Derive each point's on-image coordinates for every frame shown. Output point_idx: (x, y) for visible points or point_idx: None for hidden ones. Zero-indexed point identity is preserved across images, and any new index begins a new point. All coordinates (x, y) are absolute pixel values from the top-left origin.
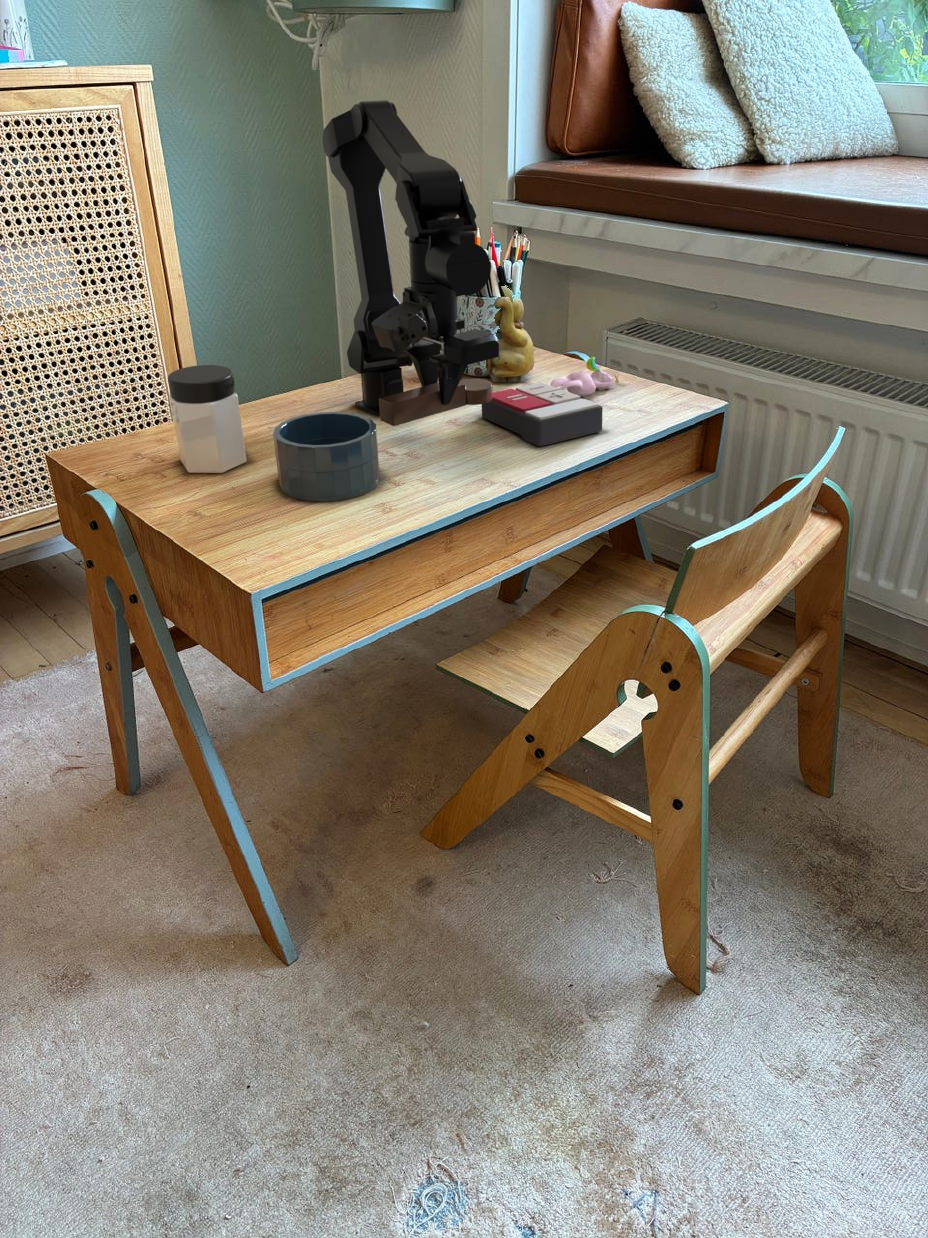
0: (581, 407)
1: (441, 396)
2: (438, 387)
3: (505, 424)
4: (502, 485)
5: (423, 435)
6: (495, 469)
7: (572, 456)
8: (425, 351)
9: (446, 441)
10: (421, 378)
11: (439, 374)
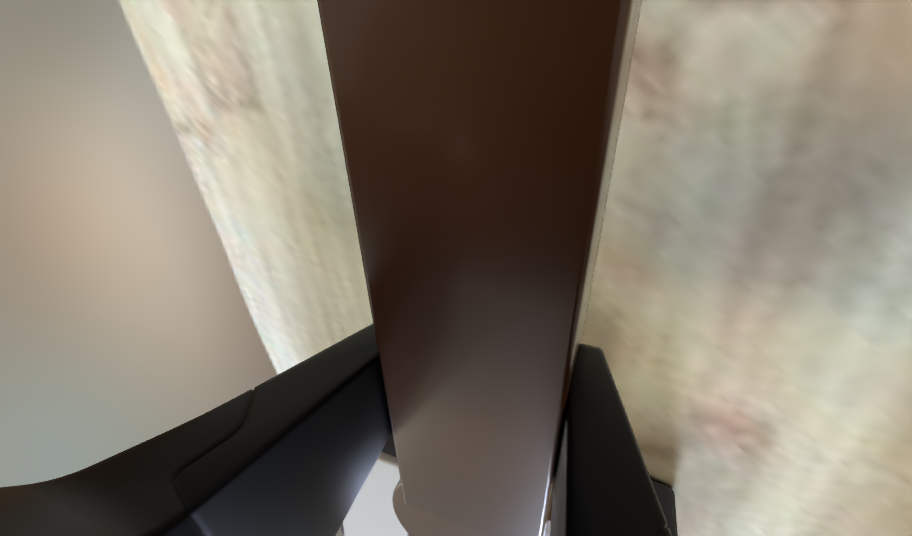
0: (345, 517)
1: None
2: (448, 411)
3: None
4: (194, 111)
5: (764, 284)
6: (304, 191)
7: (292, 358)
8: None
9: (616, 283)
10: (592, 467)
11: (221, 455)
